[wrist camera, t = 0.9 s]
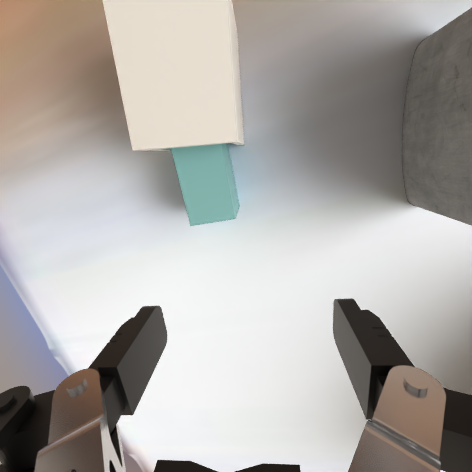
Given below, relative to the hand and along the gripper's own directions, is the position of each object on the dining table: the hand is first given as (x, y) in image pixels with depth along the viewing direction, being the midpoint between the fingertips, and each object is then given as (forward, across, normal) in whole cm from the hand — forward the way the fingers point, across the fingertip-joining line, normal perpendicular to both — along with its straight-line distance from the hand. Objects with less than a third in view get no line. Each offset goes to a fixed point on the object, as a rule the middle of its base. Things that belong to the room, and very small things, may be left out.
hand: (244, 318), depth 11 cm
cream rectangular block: (+19, +4, -13) cm, 23 cm away
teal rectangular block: (+19, +4, -8) cm, 21 cm away
